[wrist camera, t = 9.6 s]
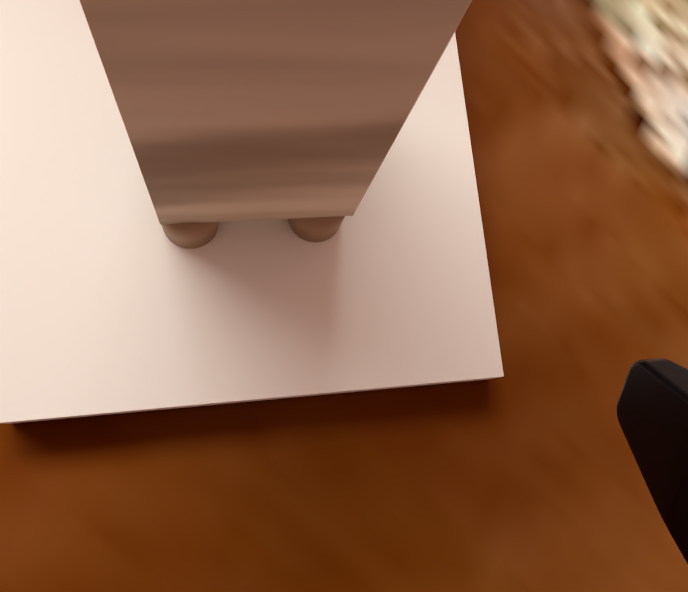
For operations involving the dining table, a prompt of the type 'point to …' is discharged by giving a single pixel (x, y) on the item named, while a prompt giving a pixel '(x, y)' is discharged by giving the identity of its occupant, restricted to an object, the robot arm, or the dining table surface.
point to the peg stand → (219, 258)
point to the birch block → (266, 97)
